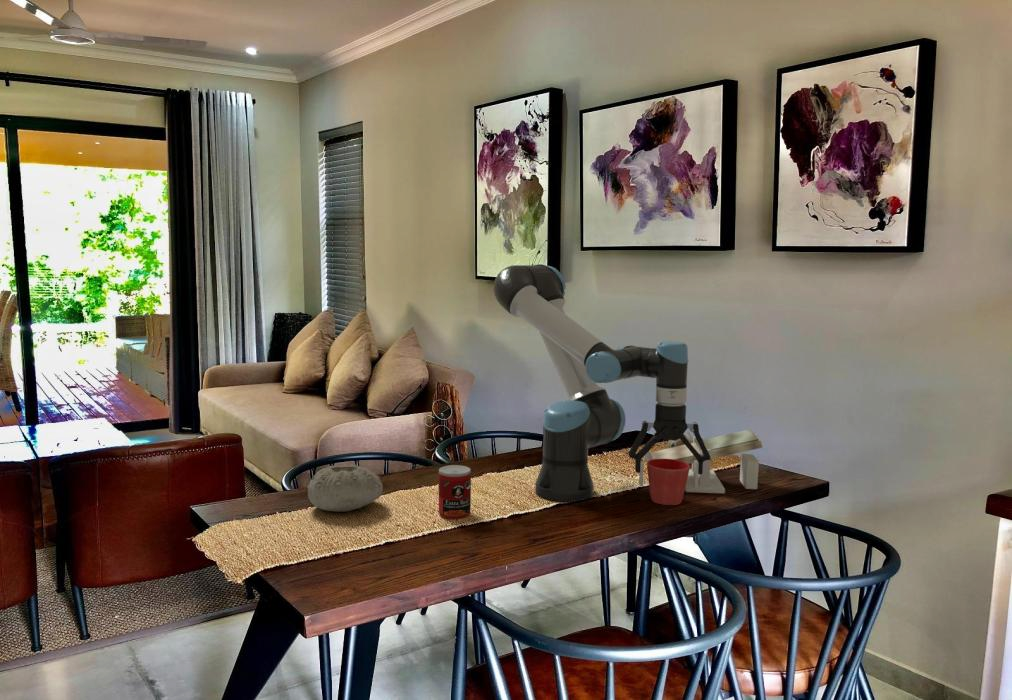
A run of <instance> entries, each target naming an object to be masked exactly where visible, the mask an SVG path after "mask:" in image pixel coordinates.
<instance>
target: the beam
mask: <svg viewBox="0 0 1012 700" xmlns="http://www.w3.org/2000/svg"><path fill="white" fill-rule="evenodd" d="M703 442H704V444H705V446H706V449H711V460H712V459H716V458H721V457H725V456H731V455H736V454H741V453H746V452H750V451H753V450H754V451H755V450H758V449H762V448H763V444H762V440H761V439H760V437H758V435H756V434H755V433H754V432H753V431H752V430H751V429H745V430H741V431H735V432H733V433H732V432H731V433H728V434H722V435H719V436H714V437H710V438H705V439H704V438H703ZM691 444H692V446H693V447H694V448H695V449H696V451H697V452H698V453H699V454H700V455H701V448H700V446H699V444H698V442H695V443H691ZM644 457H645V461H646V463H647V462H648V461H649V460H652V459H674V460H679V461H683V462H686V463H688V464H689V465H690V464H692V463H694V460H697V459H696V457H695V456H694V455H693V454H692V453H691V451H690V450H689V449H688V448H687V447H686V445H681V446H677V447H672V448H668V449H663V450H660V449H658V450H655V451H648V452H647V453H646V455H645V456H644Z"/></svg>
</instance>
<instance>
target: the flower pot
mask: <svg viewBox="0 0 1012 700" xmlns="http://www.w3.org/2000/svg"><path fill="white" fill-rule="evenodd" d="M646 468H647V469H646V470H647V479H648V486H649V487H648V488H649V495H650V500H651V501H652V502H653V503H655V504H659V505H664V506H676V505H680V504H681V503H682V501H683V498H684V494H685V492H686V491H685V487H686V483H687V478H688V474H689V469H691V467H690V464H688V463H686V462H683V461H679V460H674V459H652V460H649V461H648V462H646Z"/></svg>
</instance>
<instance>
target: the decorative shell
mask: <svg viewBox="0 0 1012 700" xmlns="http://www.w3.org/2000/svg"><path fill="white" fill-rule="evenodd" d="M380 479H381V477H380V476H379V475H378V474H376V473H375V472H374V471H373V470H372V469H369V468H367V467H365V466H364V467H363V466H360V465H359V466H358V465H357V464H347V465H342V466H339V465H331V466H326V467H324V468H321V469H320V470H318V471H317V472H316V473H315V474H314V475H313V476H312V478H311V479H310V481H309V483H308V485H307V487H306V489H307V493H308V494H307V496H308V499H309V501H310V503H311V504H312V505H313V506H314V507H316V508H317V509H320V510H322V511H327V512H339V513H340V512H341V513H342V512H343V513H344V512H350V511H353V510H357V509H361V508H362V507H365V506H368V505H369V504H372V503H373V502H374V501H376V500H379V498H380V497H381V496H382V494H383V488H384V485H383V483H382V481H381V480H380Z"/></svg>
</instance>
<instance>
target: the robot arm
mask: <svg viewBox="0 0 1012 700" xmlns="http://www.w3.org/2000/svg"><path fill="white" fill-rule="evenodd" d="M566 289H567V288H566V281H565V279H564V276H563V275H562V274H561V272H560V271H559V270H558V269H557V268H556V267H553V266H550V265H545V264H532V265H531V264H530V265H528V264H527V265H523V264H522V265H518V264H515V265H510V266H507V267H505V268H503V269H501V270H500V271H499V273H498V274H497V276H496V277H495V280H494V282H493V293H494V297H495V299H496V301H497V303H498V304H499V305H500V306H501V307H502V308H503V309H504V310H505V311H506V312H508V313H509V314H510V315H511V316H513V317H515V318H522V319H523V320H524V321H525V322H527V323H528V324H530V326H532V327H534V328H535V329H536V330H537V331H539V334H540V336H541V338H542V340H543V341H542V342H543V343H544V345H545V348H546V350H547V352H548V355H549V356H550V359H551V361H552V364H553V365H554V368H555V370H556V373H557V375H558V377H559V380H560V382H561V383H562V385H563V388H564V390H565V393H566V395H567V398H568V399H567V400H565V401H558V402H554V403H551V404H549V405H548V406H547V407H546V408H545V409H544V412H543V419H542V426H543V429H542V431H543V432H542V433H543V434H542V435H543V436H542V441H543V442H542V464H541V467H540V469H539V473H538V476H537V478H536V480H535V481H536V482H535V494H536V495H537V496H539V497H540V498H543V499H545V500H550V501H556V502H578V501H579V502H580V501H583V500H587V499H590V498H591V497H593V496H594V486H595V485H594V483H593V479H592V476H591V472H590V469H589V465H588V463H589V462H588V460H589V459H588V457H589V455H588V454H589V449H591V448H595V447H597V446H601V445H607V444H609V443H611V442H613V441H615V440H616V439H619V438H620V436H621V435H622V434H623V432H624V430H625V429H624V428H625V426H626V420H627V419H626V414H625V409H624V407H623V406H622V405H621V403H620V402H618V401H617V400H615V399H613V398H610V396H609V394H608V392H607V389H606V388H605V387H602V386H600V385H598V384H602V383H603V384H608V383H612V382H616V381H620V380H626V379H630V378H631V379H632V378H635V377H641V378H642V377H644V378H651V379H655V384H656V386H655V402H656V404H655V411H654V412H655V413H654V415H655V416H654V417H655V418H654V421H653V422H648V420H647V421H646V420H643V421H642V423H641V429H640V431H639V432H638V435H637V436H636V438H635V440H634V442H633V444H632V445H631V447H630V449H629V451H628V454H627V455H628V457H629V458H630V459H634V461H635V463H634V464H635V465H634V470H635V473H637V474H639V475H638V476H639V477H638V478H639V479H638V485H639V487H640V488H641V487H642V488H643V487H644V468H645V467H644V466H645V465H644V464H645V461H644V459H643V458H644V457H645V455H646V453H647V452H650V451H651V450H652V448H653V447H655V445H656V444H657V443H658V442H660V440H663V441H666V442H667V441H669V440H673V441H676V440H678V439H679V438H680V439H681V441H682V442H683V443H684V444H685V445H686V447H687V448H688V449H689V450H690V451H691V453H692V454H693V455H694V456H695V457H696V459H697V460H694V473H693V486H694V488H698V474H702V472H703V462H704V461H706V460H710V459H711V457H710V455H709V453H708V451H707V449H706V446H705V444H704V442H703V440H704V439H703V440H702V438H703V437H702V436H701V434H700V432H699V431H700V430H699V429H700V428H699V424H698V423H697V422H696V421H693V422H692V423H687V422H686V419H687V417H686V416H687V405H686V403H687V385H688V382H687V379H688V363H689V357H688V355H689V354H688V353H689V352H688V345H687V344H686V343H685V342H682V341H671V340H667V341H666V340H665V341H664V340H663V341H659V342H658V343H657V346H656V348H655V347H654V348H653V347H652V348H651V347H645V346H644V347H643V346H637V345H620V346H618V347H617V349H613V348H611V347H610V346H609V345H607V344H606V343H604V342H603V341H602V340H601V339H599V338H598V337H597V336H595V335H594V334H593V333H591V332H589V331H588V330H587V329H586V328H584V327H583V326H582V325H580V324H579V323H577V322H576V321H575V320H573V318H571V317H569V316H568V315H567V314H566V313H565V310H564V306H565V304H566V300H565V298H564V297H565V293H566V291H565V290H566ZM652 428H653V429H654V431H655V433H654V434H653V435H652V436H651V438H650V439H649V440H648V441H647V442H646V443H645V444H644V445H643V446H642V447H641V449H639V448H640V446H641V444H642V442H643V441H644V439H645V437H646V435H647V434H648V433H647V432H649V431H651V429H652ZM688 429H689V431H690V432H691V433H693V435H694V437H695V438H696V440H697V442H698V444H699V446H700V448H701V450H702V452H703V454H704V455H700V454H699V453H698V452H697V451H696V449H695V448H694V447H693V446H692V444H691V443H690V442H689V441H688V440H687V438H686V437H685V436H684V435H683V434H685V433H686V432H687V430H688ZM701 437H702V438H701ZM638 449H639V451H638ZM637 451H638V452H637ZM711 460H712V459H711Z"/></svg>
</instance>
